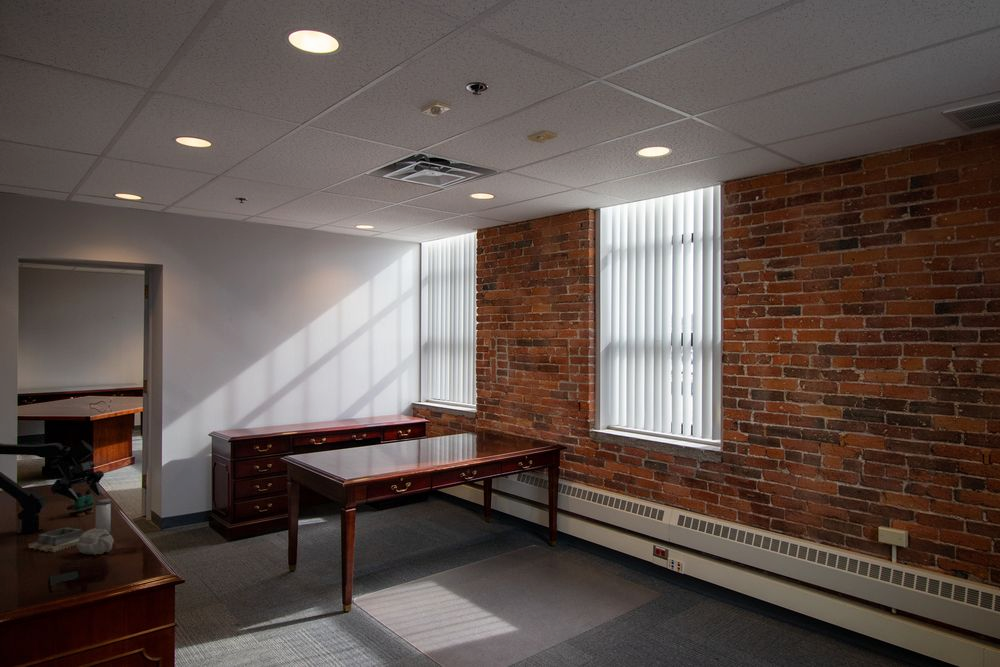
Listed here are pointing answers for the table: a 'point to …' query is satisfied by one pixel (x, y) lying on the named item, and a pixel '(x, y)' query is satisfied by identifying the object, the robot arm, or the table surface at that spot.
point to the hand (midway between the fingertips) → (88, 497)
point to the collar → (57, 539)
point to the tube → (103, 514)
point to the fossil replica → (95, 541)
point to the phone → (63, 577)
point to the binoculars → (82, 504)
